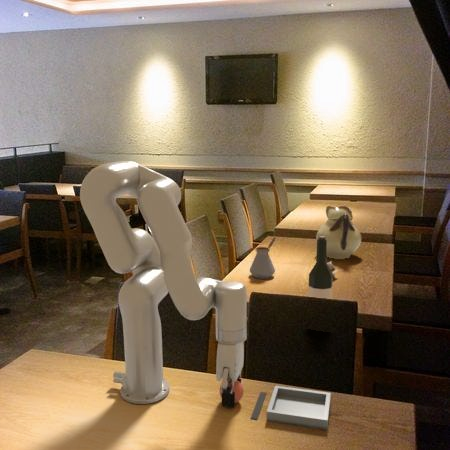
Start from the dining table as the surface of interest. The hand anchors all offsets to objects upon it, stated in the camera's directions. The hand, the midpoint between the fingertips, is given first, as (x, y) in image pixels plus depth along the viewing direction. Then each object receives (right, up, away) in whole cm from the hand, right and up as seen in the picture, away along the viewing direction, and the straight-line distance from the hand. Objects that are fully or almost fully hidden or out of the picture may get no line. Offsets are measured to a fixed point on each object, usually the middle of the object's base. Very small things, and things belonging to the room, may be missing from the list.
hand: (231, 398), depth 125 cm
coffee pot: (+17, +21, +105) cm, 109 cm away
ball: (0, +2, 0) cm, 2 cm away
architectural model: (+45, +19, +98) cm, 109 cm away
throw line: (+7, -1, -2) cm, 7 cm away
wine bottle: (+32, +10, +52) cm, 61 cm away
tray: (+16, -2, -4) cm, 17 cm away
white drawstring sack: (+57, +27, +132) cm, 146 cm away
